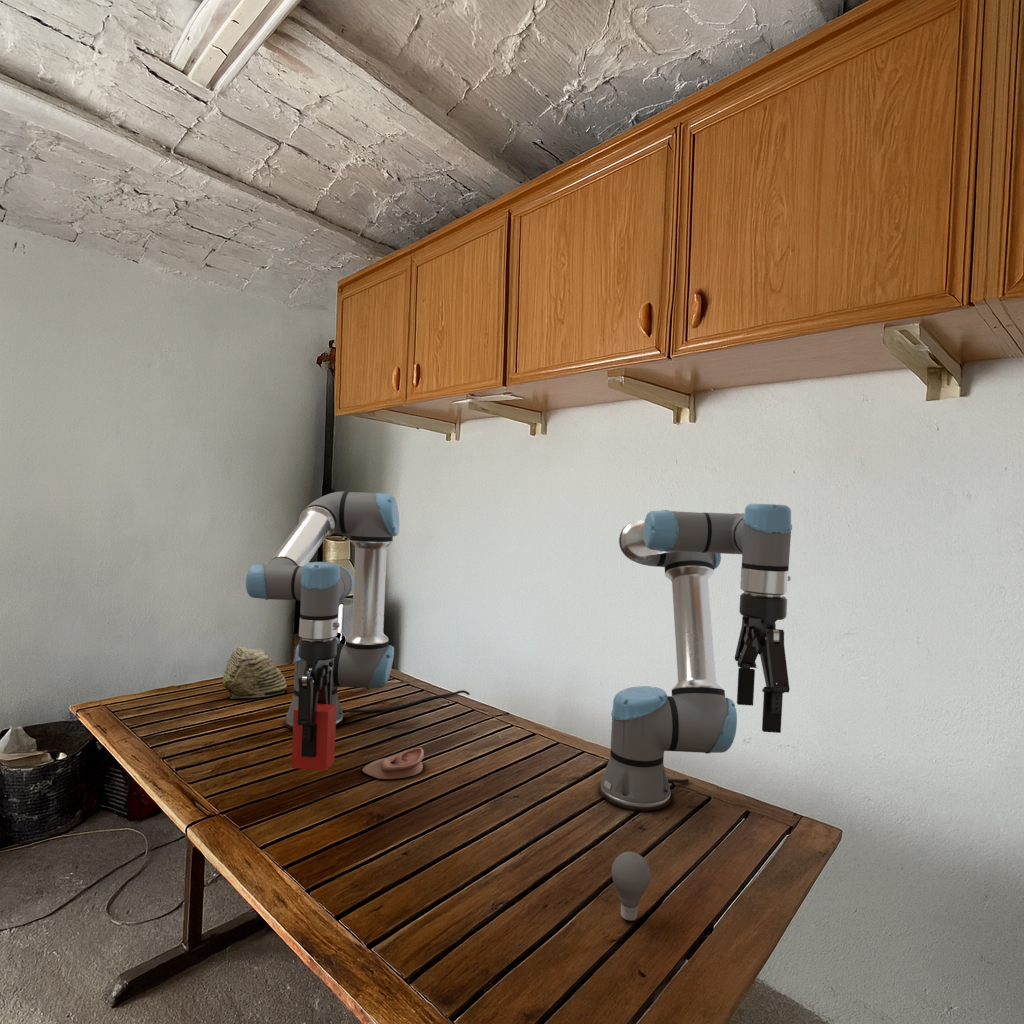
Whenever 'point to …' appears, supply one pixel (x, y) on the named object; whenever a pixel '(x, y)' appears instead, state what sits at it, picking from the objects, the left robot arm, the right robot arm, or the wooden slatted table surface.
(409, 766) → the anatomical model
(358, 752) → the wooden slatted table surface
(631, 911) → the light bulb
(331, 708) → the brick
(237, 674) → the fossil
